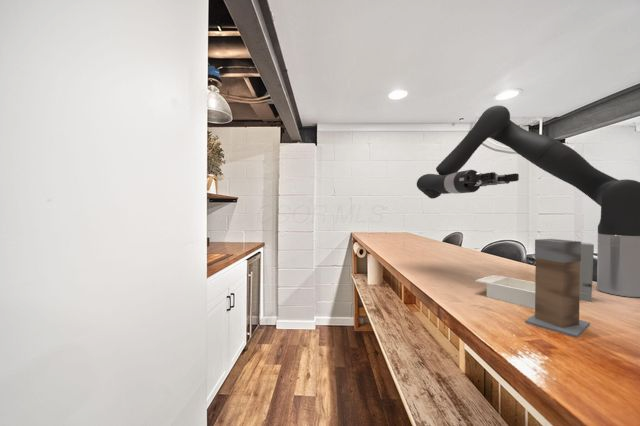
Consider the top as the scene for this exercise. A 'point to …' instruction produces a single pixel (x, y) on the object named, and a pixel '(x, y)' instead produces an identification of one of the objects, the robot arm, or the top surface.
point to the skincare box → (586, 271)
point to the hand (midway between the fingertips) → (506, 176)
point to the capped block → (557, 281)
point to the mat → (570, 331)
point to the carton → (510, 290)
